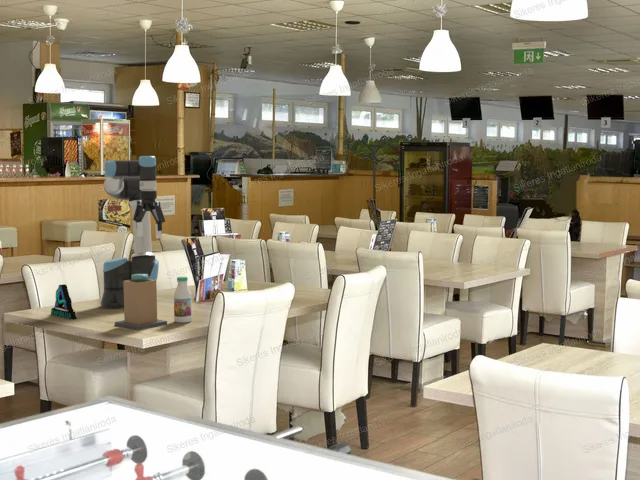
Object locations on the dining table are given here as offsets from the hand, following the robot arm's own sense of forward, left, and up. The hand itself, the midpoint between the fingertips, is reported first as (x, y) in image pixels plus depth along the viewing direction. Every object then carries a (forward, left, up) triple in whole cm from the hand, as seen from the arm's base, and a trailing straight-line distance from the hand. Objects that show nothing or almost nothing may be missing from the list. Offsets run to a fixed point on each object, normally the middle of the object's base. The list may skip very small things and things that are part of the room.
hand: (149, 237), depth 404 cm
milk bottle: (+19, +3, -37) cm, 42 cm away
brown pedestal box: (+11, -14, -37) cm, 41 cm away
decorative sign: (-33, -25, -37) cm, 55 cm away
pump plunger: (+12, -14, -34) cm, 39 cm away
